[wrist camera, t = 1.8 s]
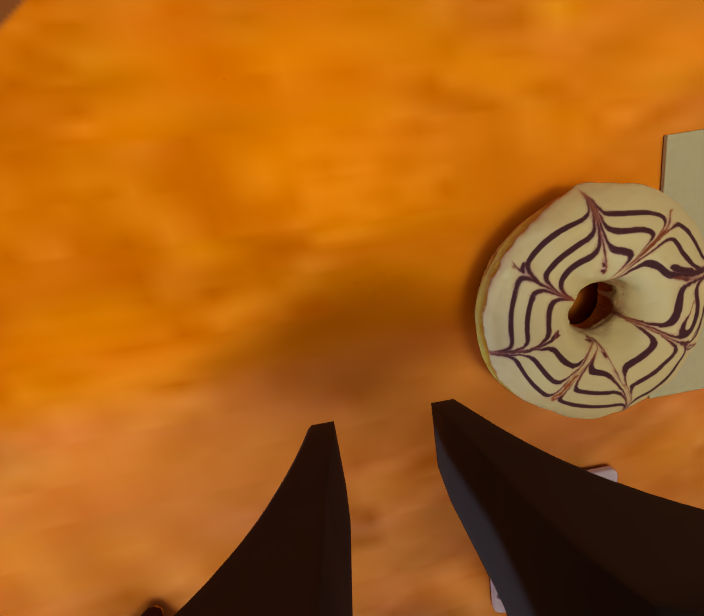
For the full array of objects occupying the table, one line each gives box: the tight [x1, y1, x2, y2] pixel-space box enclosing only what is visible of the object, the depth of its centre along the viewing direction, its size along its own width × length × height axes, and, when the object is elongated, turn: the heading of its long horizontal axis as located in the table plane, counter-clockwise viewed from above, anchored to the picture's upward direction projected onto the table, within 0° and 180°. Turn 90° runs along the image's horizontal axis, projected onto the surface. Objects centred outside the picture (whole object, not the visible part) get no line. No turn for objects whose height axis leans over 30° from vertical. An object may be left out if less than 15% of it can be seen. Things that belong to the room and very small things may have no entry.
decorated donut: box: [475, 182, 704, 419], centre depth 18 cm, size 10×11×4 cm
